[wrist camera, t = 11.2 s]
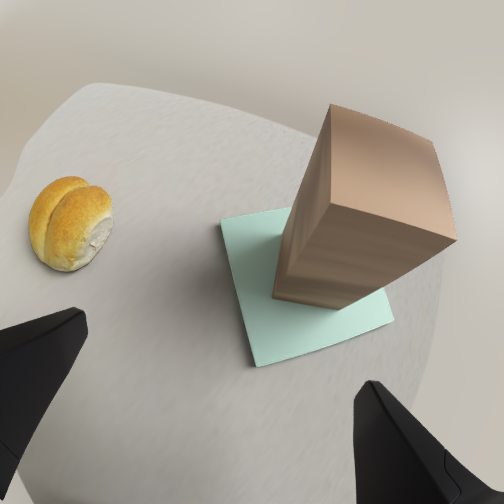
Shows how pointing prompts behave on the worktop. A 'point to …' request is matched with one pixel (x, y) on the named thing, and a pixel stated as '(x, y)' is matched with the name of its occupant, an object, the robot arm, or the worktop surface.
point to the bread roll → (70, 223)
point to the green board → (282, 312)
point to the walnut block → (362, 213)
